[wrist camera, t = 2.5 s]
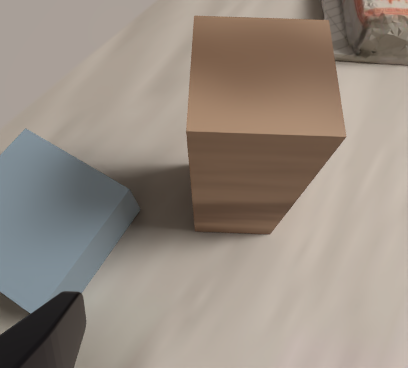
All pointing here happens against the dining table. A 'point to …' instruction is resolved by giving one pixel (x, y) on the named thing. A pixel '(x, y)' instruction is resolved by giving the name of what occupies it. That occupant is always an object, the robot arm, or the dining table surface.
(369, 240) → the dining table surface
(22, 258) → the slate base block
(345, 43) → the packaged product
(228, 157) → the walnut block
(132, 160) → the dining table surface
